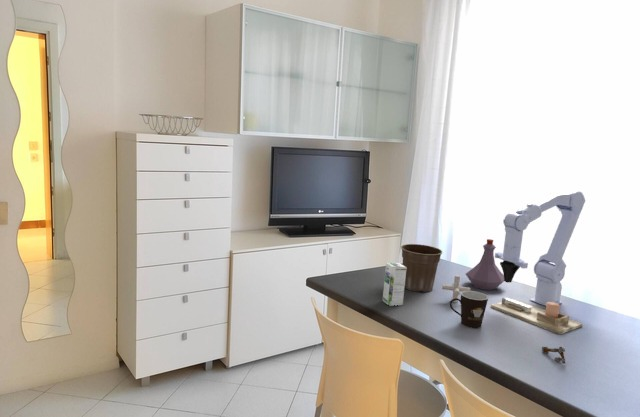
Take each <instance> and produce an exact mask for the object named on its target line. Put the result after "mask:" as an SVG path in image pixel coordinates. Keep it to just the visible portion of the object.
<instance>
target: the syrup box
mask: <svg viewBox="0 0 640 417" xmlns="http://www.w3.org/2000/svg"><path fill="white" fill-rule="evenodd" d="M405 278H406V267H405V266H403V263H402V264H401V263H400V262H393V261H392V262H386V263H385V270H384V281H383V292H382V302H384V303H385V304H387V305H389V306H388V307H394V305H395V306H397V305H398V306H403V305H404V295H405V289H406V288H405Z"/></svg>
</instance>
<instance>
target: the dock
mask: <svg viewBox="0 0 640 417" xmlns="http://www.w3.org/2000/svg"><path fill="white" fill-rule="evenodd" d="M511 299H512V300H515V301H517V302H520V303H523V304H526V305H528V306H531V307H532V308H531V312H530V313H526V312H524V311H522V309H520V308H517V307H515V306H512V305H510V304H506V305H505V304H502V301H500V302H496V303H492V304H490V308H491V309H494V310H497V311H499V312H502V313H503V314H504V313H505V314H507V315H509V316H512V317H514V318H517V319H519V320H522V321H524V322H527V323H529V324H531V325H534V326H537V327H540V328H542V329H543V330H544V329H545V330H547V331H550V332H552V333H555V334H557V335H562V334H565V333H568V332H571V331H574V330H577V329H579V328H581V327H583V323H581V322H579V321H576V320H572V319H570V315H567V314H564V313H561V312H559V314H558V319H556V318H553V317H550V316H548V315H545V311H546V309H543V308H540V307H538V306H535V305H532V304H529V303H526V302H523V301H521V300H518V299H515V298H511Z"/></svg>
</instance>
